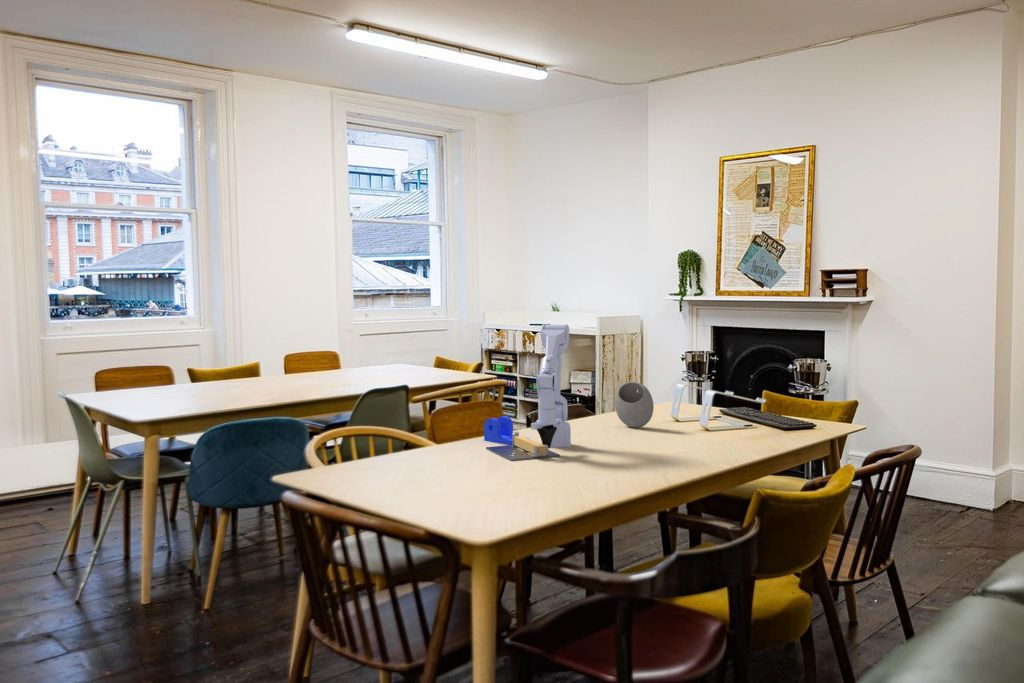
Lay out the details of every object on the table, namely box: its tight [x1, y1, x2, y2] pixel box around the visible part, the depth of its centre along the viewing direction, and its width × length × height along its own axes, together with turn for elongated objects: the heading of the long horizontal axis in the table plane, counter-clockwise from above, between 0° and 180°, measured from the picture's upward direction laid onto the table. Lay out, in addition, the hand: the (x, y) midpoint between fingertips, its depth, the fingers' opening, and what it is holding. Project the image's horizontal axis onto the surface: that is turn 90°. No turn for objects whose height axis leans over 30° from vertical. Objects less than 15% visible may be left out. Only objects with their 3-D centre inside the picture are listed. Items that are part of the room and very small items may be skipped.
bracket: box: [483, 415, 530, 446], centre depth 304 cm, size 18×8×9 cm, turn 46°
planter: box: [614, 381, 654, 429], centre depth 335 cm, size 18×7×19 cm, turn 46°
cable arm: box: [514, 435, 549, 456], centre depth 283 cm, size 20×4×3 cm, turn 24°
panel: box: [485, 431, 561, 462], centre depth 284 cm, size 18×22×6 cm
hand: (546, 447), depth 282 cm, fingers closed
